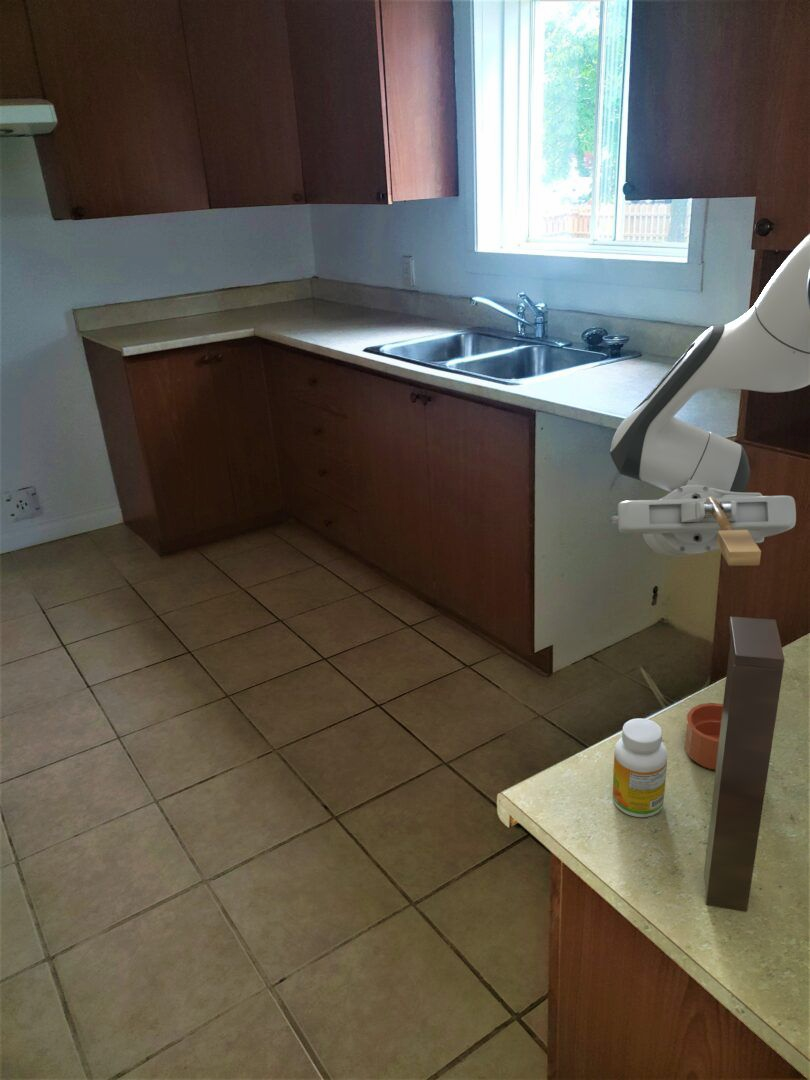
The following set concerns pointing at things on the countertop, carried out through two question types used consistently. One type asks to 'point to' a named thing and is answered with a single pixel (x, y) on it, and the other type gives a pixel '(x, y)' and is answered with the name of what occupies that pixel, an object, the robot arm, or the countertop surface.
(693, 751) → the bowl
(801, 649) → the countertop surface
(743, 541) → the tan wooden mallet
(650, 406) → the robot arm
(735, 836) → the tall brown pillar
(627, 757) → the supplement bottle
